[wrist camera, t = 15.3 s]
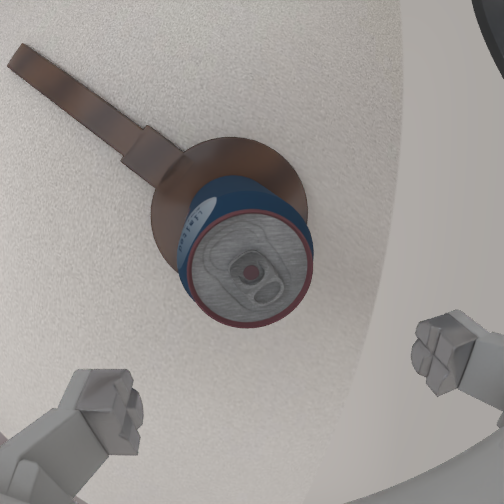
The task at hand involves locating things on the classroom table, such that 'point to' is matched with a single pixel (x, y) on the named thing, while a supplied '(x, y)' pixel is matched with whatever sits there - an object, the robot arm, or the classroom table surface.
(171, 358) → the classroom table surface
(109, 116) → the serving spoon
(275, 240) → the soda can
